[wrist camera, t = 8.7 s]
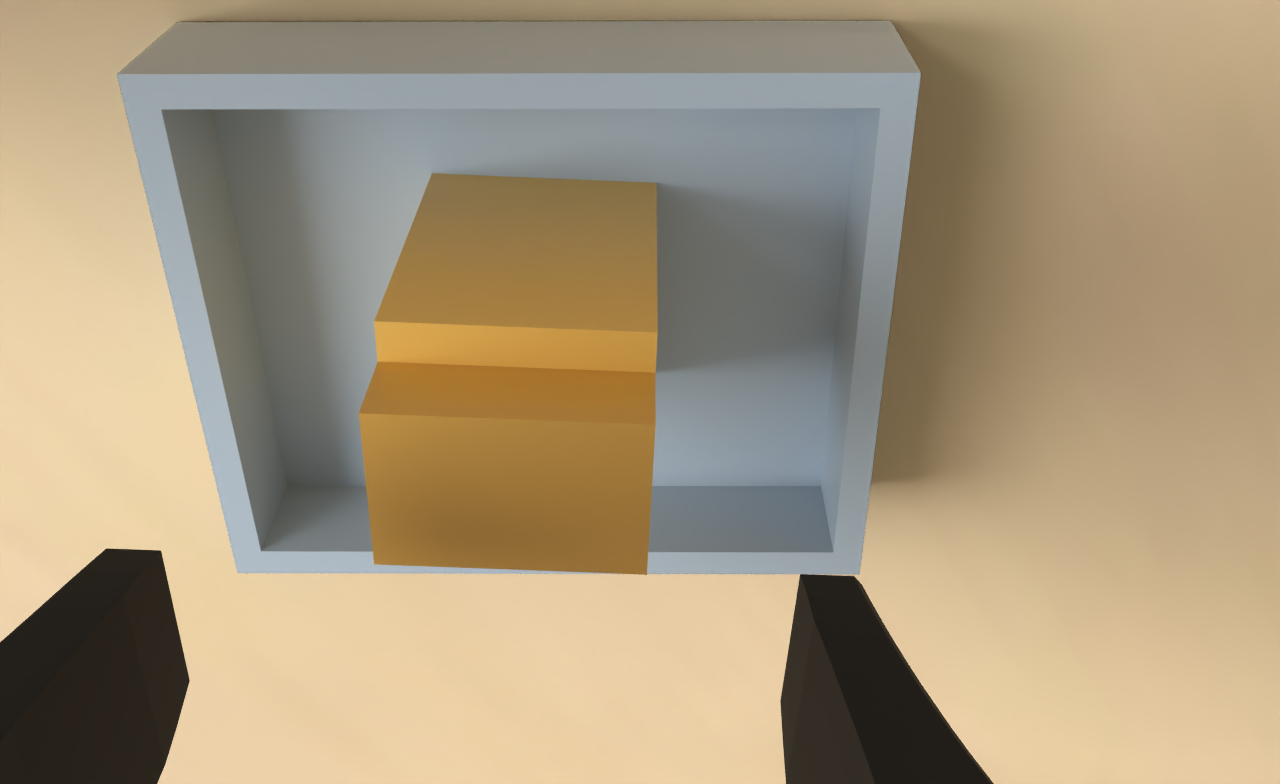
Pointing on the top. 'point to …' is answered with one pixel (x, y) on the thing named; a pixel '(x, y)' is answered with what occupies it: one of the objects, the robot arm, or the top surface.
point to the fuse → (517, 379)
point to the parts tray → (538, 148)
